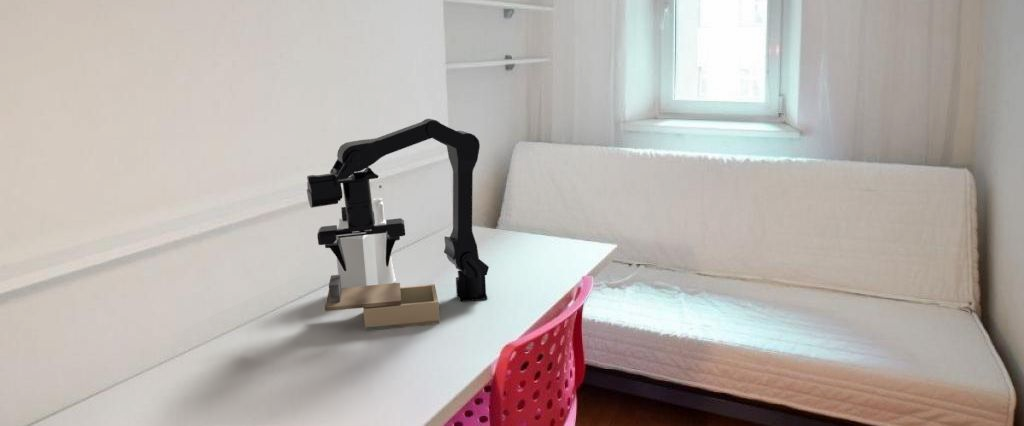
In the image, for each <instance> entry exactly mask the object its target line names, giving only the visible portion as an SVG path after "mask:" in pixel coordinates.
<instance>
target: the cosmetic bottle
mask: <svg viewBox="0 0 1024 426" xmlns="http://www.w3.org/2000/svg"><path fill="white" fill-rule="evenodd" d="M382 200H383V198H382V197H376V198H372V208H373V212H374V218H375V224H374V225H383V224H386V220H387V219H385V208H384V205H385V204H384V202H383V201H382ZM374 243H375V254H376V266H377V278H378V285H381V284H392V283H396V281H397V279H396V275H395V270H394V266H393V260H392V255H391V256H390V260H389V265H388V266H386V233H379V234H374Z"/></svg>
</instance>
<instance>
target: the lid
mask: <svg viewBox="0 0 1024 426" xmlns="http://www.w3.org/2000/svg"><path fill="white" fill-rule="evenodd" d="M400 287H401V282H394V283H392V284H381V285H369V286H358V287H347V288H341V278H340V275H338V274H333V275H330V279H329V283H328V293H327V295H326V296H327V297H326V301H325V304H324V305H325V306H324V311H325V312H333V311H344V310H345V311H346V310H354V309H362V308H366V307H376V306H387V305H398V304H401V291H400Z"/></svg>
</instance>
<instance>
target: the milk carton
mask: <svg viewBox="0 0 1024 426" xmlns="http://www.w3.org/2000/svg"><path fill="white" fill-rule="evenodd" d="M338 221H339V223H338V225H337V229H346V228H348V222H347V221H345V222H344V221H343V220H342V218H339V219H338ZM366 231H371V230H366ZM354 232H359V231H354ZM340 241H341V246H342V250H343V254H344V258H345V262H346V271H344V269H343V268H342V266H341V264H340V262H339V260H338V259H337V258H336V264H337V275H340V278H341V288H347V287H358V286H369V285H378V278H377V266H376V254H375V243H374V234H370V235H361V236H352V237H343V238H340Z"/></svg>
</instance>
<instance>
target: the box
mask: <svg viewBox="0 0 1024 426" xmlns="http://www.w3.org/2000/svg"><path fill="white" fill-rule="evenodd" d="M400 291H401V304H398V305H387V306H376V307H366V308H363V310H362V311H363V319H364V321H363V322H364V329H365V330H364V331H365V332H367V331H368V332H369V331H375V330H377V331H378V330H386V329H397V328H398V329H399V328H407V327H417V326H428V325H437V324H441V322H440V309H439V308H440V307H439V306H440V305H439V299H438V293H437V289H436V285H435V283H432V284H424V285H423V284H422V285H421V284H420V285H412V286H400Z"/></svg>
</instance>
